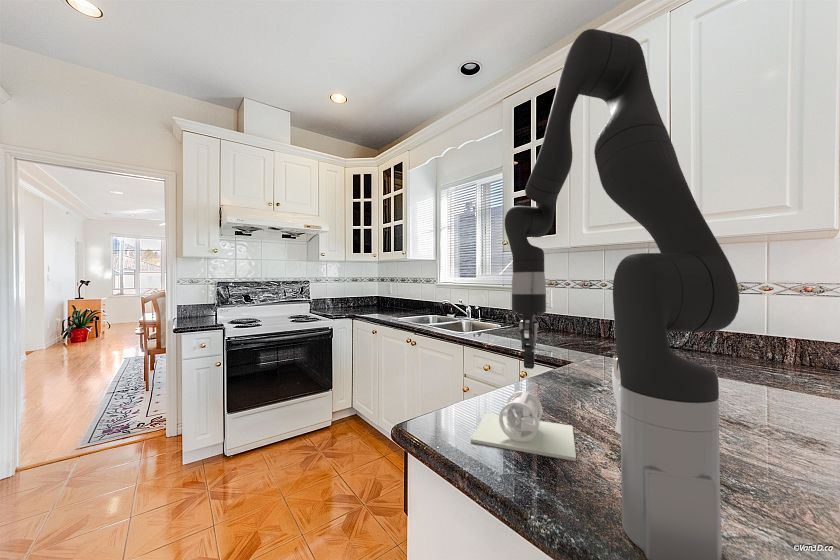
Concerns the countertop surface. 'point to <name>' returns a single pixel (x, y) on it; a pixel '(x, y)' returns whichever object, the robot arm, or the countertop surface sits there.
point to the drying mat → (545, 442)
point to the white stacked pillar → (521, 415)
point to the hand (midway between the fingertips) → (529, 367)
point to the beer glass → (617, 392)
